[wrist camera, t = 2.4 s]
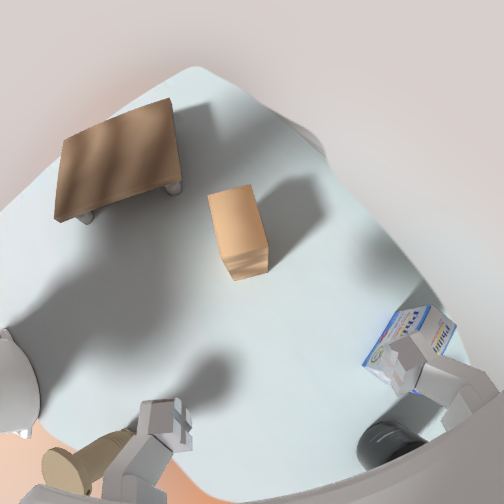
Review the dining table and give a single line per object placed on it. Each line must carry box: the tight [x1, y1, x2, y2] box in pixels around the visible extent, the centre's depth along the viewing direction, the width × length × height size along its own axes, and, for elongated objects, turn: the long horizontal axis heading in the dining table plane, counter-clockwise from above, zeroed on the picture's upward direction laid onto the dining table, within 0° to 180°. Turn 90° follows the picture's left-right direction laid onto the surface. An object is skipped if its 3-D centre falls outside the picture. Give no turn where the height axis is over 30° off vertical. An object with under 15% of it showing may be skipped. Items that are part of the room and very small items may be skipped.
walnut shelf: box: [54, 98, 182, 225], centre depth 35 cm, size 18×14×6 cm
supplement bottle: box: [357, 421, 428, 471], centre depth 20 cm, size 7×7×12 cm
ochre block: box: [207, 184, 269, 281], centre depth 29 cm, size 4×6×10 cm, turn 14°
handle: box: [42, 428, 137, 496], centre depth 20 cm, size 5×6×15 cm
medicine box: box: [362, 304, 457, 395], centre depth 25 cm, size 8×4×9 cm, turn 142°
